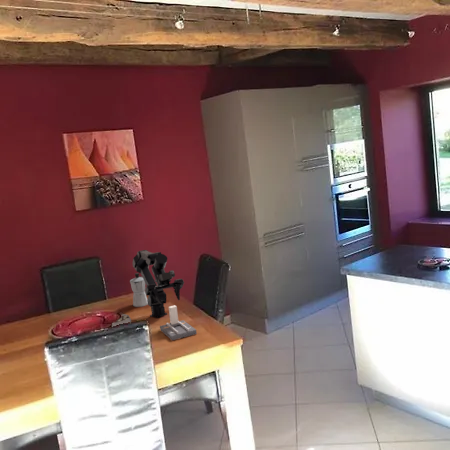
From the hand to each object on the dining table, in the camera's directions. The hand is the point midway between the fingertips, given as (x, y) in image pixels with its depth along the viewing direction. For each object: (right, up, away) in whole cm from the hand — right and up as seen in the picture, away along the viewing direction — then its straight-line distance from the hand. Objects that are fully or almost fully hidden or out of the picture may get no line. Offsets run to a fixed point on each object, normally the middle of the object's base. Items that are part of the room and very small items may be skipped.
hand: (170, 301), depth 239 cm
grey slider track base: (+4, -13, -5) cm, 15 cm away
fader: (+2, -11, -2) cm, 11 cm away
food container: (-20, -16, -8) cm, 26 cm away
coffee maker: (-21, -8, +44) cm, 49 cm away
